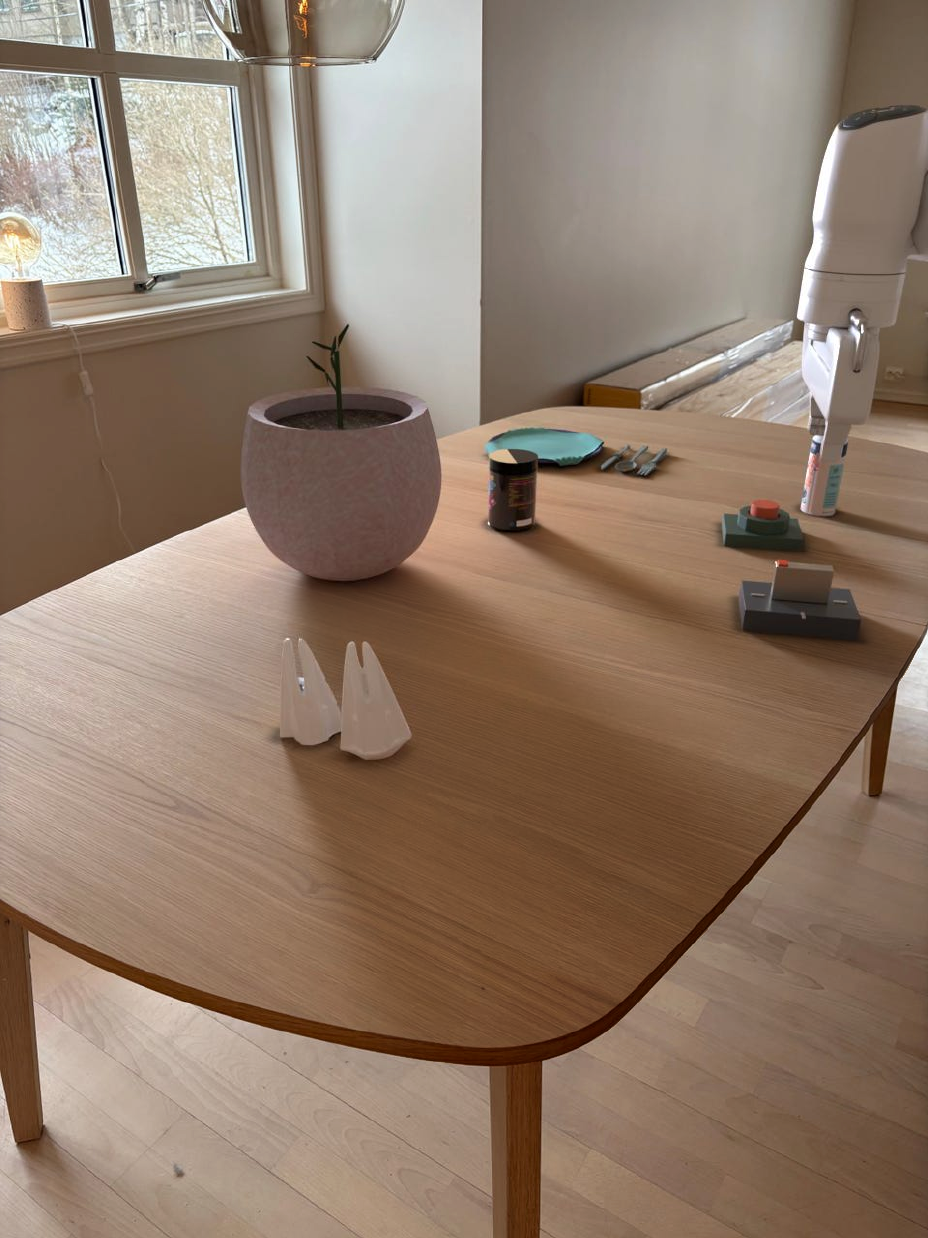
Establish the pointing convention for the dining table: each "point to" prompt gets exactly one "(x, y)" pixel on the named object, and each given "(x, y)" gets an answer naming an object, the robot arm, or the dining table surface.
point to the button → (764, 509)
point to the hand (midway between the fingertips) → (822, 446)
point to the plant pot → (341, 476)
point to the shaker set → (366, 704)
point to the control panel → (798, 613)
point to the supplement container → (512, 490)
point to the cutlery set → (564, 447)
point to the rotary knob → (801, 582)
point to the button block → (762, 531)
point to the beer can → (822, 481)
